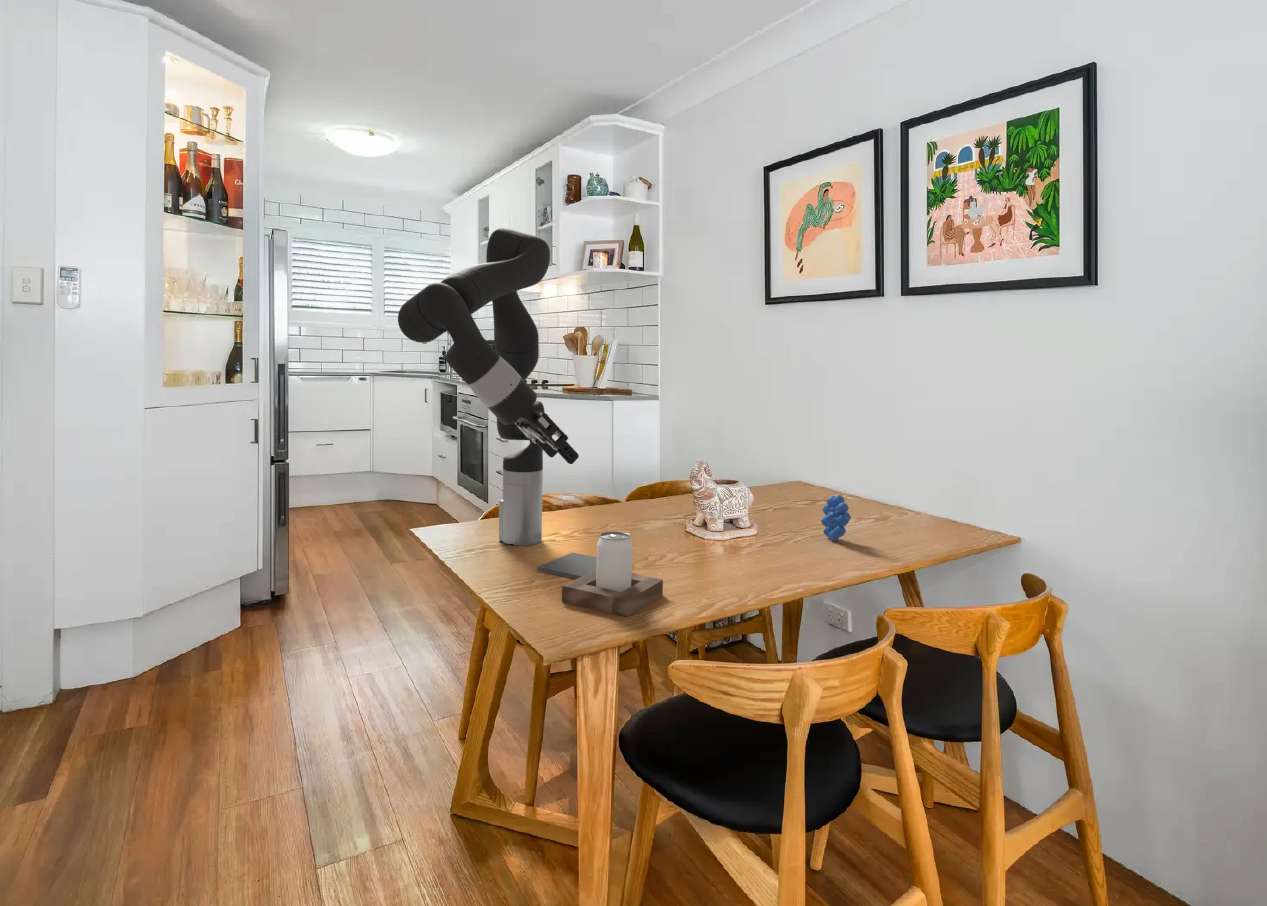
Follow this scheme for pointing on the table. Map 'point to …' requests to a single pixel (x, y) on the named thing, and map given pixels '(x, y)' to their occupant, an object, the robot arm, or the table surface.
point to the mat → (570, 565)
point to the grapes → (835, 517)
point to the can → (614, 561)
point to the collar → (612, 594)
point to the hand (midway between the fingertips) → (564, 457)
